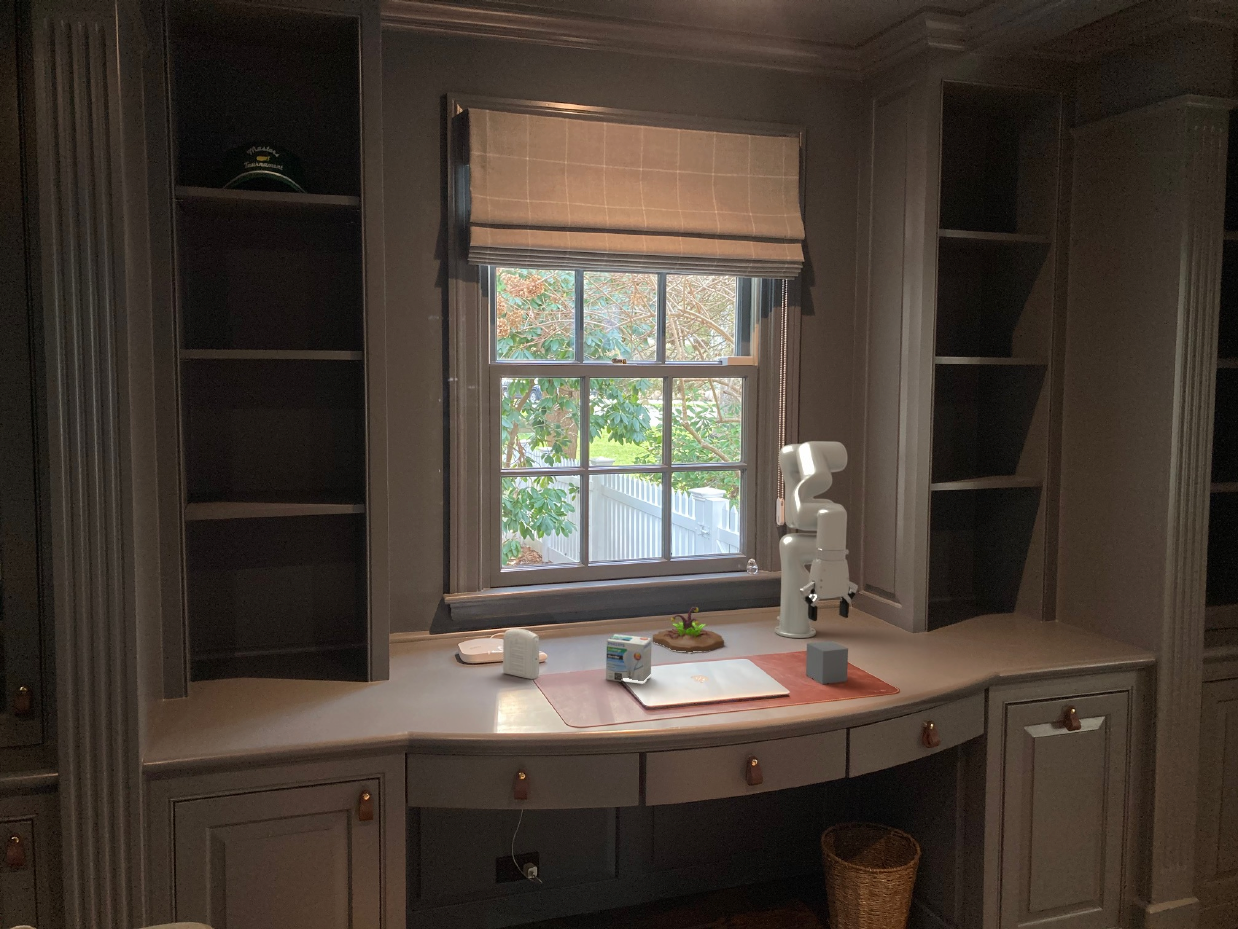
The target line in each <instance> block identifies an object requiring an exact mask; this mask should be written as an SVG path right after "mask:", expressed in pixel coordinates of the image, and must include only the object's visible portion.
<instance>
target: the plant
mask: <svg viewBox="0 0 1238 929" xmlns="http://www.w3.org/2000/svg"><path fill="white" fill-rule="evenodd" d="M692 612H694V613H698V612H700V611H699V608H698V607H696V606H692V607H691V608H690V609H689V611H688V614H687V619H686V618H685V616H684V615H681V614H675V615H673V616H672V617H671V618H670V621H671V622H672V625H673V626H674V627H675V628H672V629H670V630H669V629H667V630H666V629H665V630H663V631H661V630H660V631H658V633H654V634H652V643H653V642H655V643H658V644H661V645H664V646H665V647H668V648H670V649H671V650H676V651H686V652H693V651H708V652H710V651H709V650H711V651H714V650H717V648H718V649H721V648H724V647H725V640H724V638H723V637H722V635H720V634H719V633H717V632H714V631H712V630H706V629H703V628H704V627H705V626H706V623H701V624H700V621H699V620H698V619H697V617H696V618H695V617H694V618H692ZM677 617H679V618H681V621H679V622H678V624H677V623H675V621H676V618H677ZM699 624H700V625H699ZM665 647H664V648H665ZM671 650H670V651H671Z"/></svg>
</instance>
